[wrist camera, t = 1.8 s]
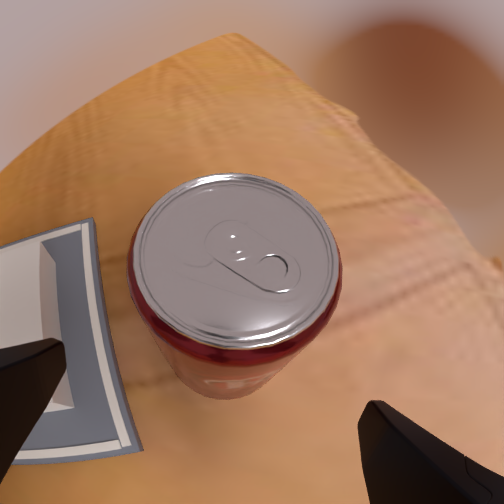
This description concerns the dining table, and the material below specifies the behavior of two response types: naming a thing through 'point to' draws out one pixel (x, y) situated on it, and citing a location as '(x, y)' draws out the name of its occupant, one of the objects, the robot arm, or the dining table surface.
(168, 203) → the soda can
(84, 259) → the base
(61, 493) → the dining table surface
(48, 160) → the dining table surface
